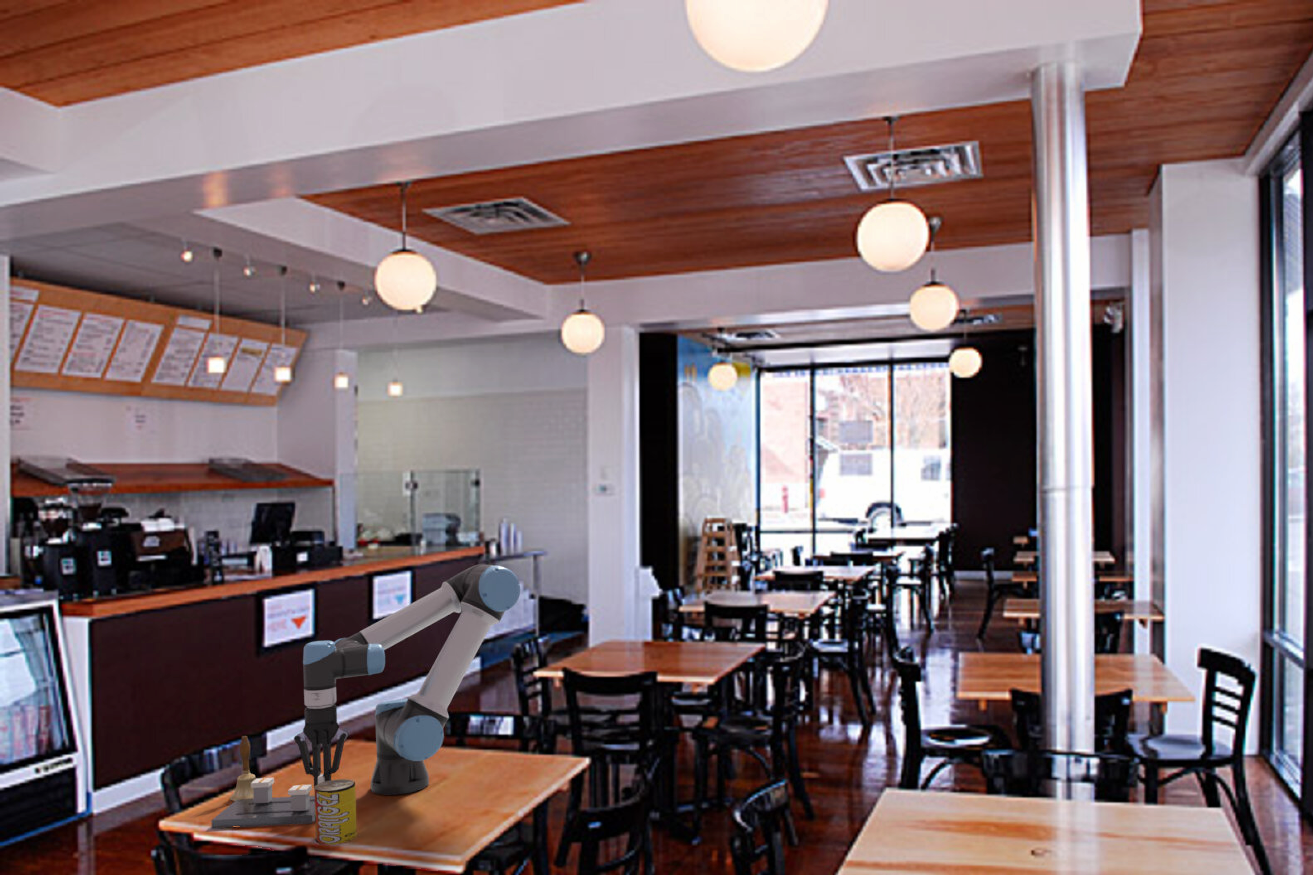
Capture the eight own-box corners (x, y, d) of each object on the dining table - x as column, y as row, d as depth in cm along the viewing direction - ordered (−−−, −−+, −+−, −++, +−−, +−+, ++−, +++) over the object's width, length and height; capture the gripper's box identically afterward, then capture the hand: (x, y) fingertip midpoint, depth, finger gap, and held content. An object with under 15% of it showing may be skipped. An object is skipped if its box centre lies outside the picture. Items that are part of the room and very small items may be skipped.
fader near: (312, 805, 251) (311, 783, 251) (307, 810, 247) (306, 788, 247) (294, 806, 250) (293, 784, 251) (288, 811, 246) (288, 789, 247)
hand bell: (251, 802, 264) (250, 740, 265) (223, 801, 266) (221, 739, 266) (270, 792, 272) (268, 732, 273) (242, 791, 274) (240, 732, 274)
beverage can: (315, 834, 236) (313, 782, 237) (355, 828, 240) (353, 777, 240) (316, 847, 228) (315, 793, 228) (358, 840, 231) (356, 787, 232)
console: (331, 802, 260) (331, 794, 261) (312, 823, 244) (311, 814, 245) (237, 807, 260) (237, 798, 260) (211, 828, 244) (211, 819, 244)
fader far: (274, 798, 258) (274, 776, 258) (269, 803, 254) (268, 781, 254) (257, 799, 258) (256, 777, 258) (251, 804, 254) (250, 782, 254)
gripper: (288, 709, 246) (291, 808, 245) (342, 707, 246) (345, 805, 245) (298, 703, 253) (301, 798, 252) (351, 700, 254) (353, 796, 253)
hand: (323, 802), depth 249 cm, fingers closed
